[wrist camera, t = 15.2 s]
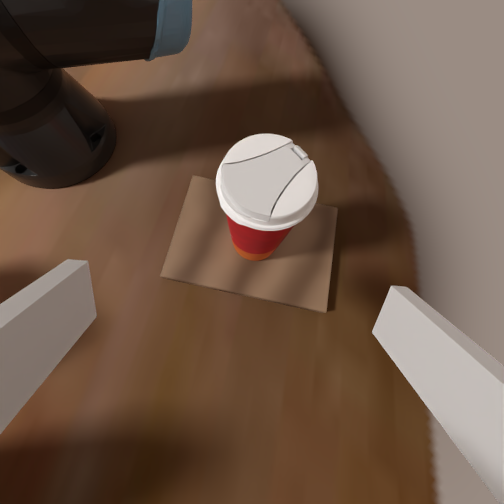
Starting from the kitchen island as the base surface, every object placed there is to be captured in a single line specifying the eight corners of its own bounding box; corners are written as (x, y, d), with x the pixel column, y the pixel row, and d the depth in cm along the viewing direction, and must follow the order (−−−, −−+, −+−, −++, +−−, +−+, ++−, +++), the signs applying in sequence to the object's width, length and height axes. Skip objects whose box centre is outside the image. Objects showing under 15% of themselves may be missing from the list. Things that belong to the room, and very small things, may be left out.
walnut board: (163, 278, 29) (159, 275, 28) (194, 181, 33) (193, 175, 32) (321, 312, 30) (326, 312, 28) (333, 212, 34) (337, 207, 32)
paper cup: (258, 201, 31) (274, 111, 18) (297, 244, 30) (346, 181, 17) (210, 235, 30) (189, 164, 16) (249, 283, 28) (262, 247, 15)
